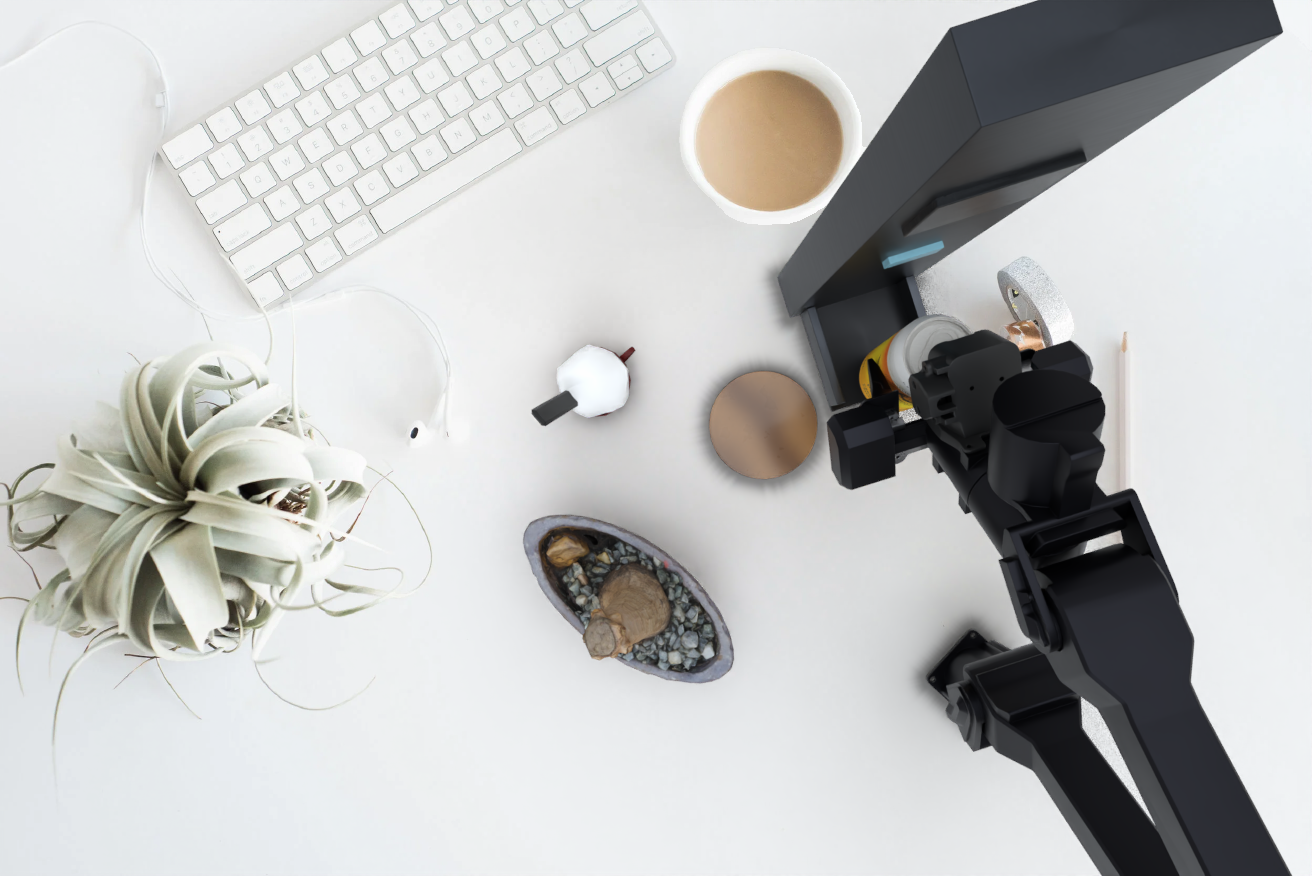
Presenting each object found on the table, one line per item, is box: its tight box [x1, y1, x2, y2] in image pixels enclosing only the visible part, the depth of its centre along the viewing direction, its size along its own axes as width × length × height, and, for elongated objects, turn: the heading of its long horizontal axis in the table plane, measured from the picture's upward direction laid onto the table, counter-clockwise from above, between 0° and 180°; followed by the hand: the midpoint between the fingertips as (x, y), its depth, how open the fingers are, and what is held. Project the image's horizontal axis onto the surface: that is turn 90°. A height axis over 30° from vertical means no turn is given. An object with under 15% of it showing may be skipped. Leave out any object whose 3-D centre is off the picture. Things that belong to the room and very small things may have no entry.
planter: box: [522, 514, 735, 684], centre depth 67 cm, size 15×17×20 cm
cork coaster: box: [708, 370, 818, 480], centre depth 77 cm, size 10×10×1 cm
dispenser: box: [776, 0, 1284, 413], centre depth 54 cm, size 14×12×46 cm
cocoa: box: [531, 344, 637, 427], centre depth 71 cm, size 10×6×12 cm, turn 109°
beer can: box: [859, 313, 974, 413], centre depth 66 cm, size 6×6×15 cm
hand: (907, 350), depth 66 cm, fingers closed on beer can, 6 cm apart
